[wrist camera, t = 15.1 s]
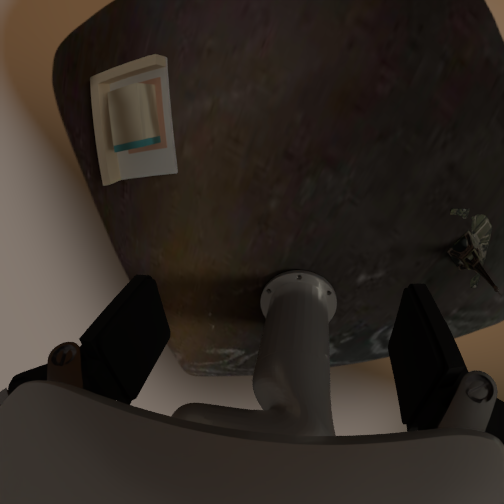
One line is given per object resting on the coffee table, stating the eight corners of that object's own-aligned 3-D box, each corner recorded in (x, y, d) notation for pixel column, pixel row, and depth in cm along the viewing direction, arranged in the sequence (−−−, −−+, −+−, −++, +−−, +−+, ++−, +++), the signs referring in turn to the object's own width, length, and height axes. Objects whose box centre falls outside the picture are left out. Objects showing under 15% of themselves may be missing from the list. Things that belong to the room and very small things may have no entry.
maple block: (154, 84, 34) (136, 82, 29) (160, 142, 37) (143, 146, 33) (127, 92, 34) (107, 92, 30) (133, 147, 38) (114, 152, 34)
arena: (178, 172, 40) (167, 177, 37) (115, 180, 42) (103, 185, 39) (167, 57, 32) (155, 53, 29) (103, 78, 34) (90, 77, 31)
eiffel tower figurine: (475, 286, 39) (507, 333, 28) (432, 289, 41) (459, 342, 30) (493, 209, 33) (539, 244, 21) (447, 207, 35) (492, 245, 23)
